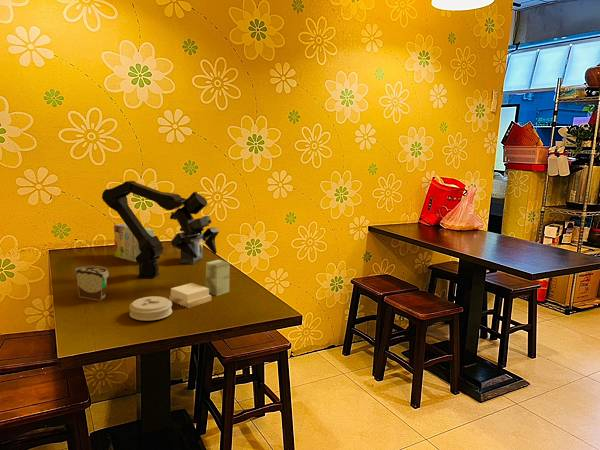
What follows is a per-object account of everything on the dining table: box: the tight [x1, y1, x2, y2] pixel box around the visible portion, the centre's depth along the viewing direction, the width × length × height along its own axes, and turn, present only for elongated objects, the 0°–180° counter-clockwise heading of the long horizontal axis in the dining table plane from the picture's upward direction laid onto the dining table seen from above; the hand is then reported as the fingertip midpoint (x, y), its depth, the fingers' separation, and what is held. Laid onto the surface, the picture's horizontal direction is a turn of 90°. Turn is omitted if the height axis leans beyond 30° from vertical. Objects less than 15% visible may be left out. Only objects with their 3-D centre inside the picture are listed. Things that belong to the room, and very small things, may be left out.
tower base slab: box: [168, 294, 213, 309], centre depth 156 cm, size 10×10×2 cm
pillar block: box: [205, 259, 231, 297], centre depth 165 cm, size 6×6×11 cm
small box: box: [180, 238, 204, 265], centre depth 204 cm, size 11×6×10 cm, turn 168°
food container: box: [74, 265, 110, 302], centre depth 155 cm, size 12×6×10 cm, turn 71°
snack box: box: [113, 223, 155, 263], centre depth 202 cm, size 21×6×15 cm, turn 58°
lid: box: [129, 295, 173, 321], centre depth 142 cm, size 13×13×5 cm
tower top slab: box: [170, 282, 210, 302], centre depth 155 cm, size 9×9×2 cm
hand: (206, 255), depth 167 cm, fingers open, 9 cm apart
